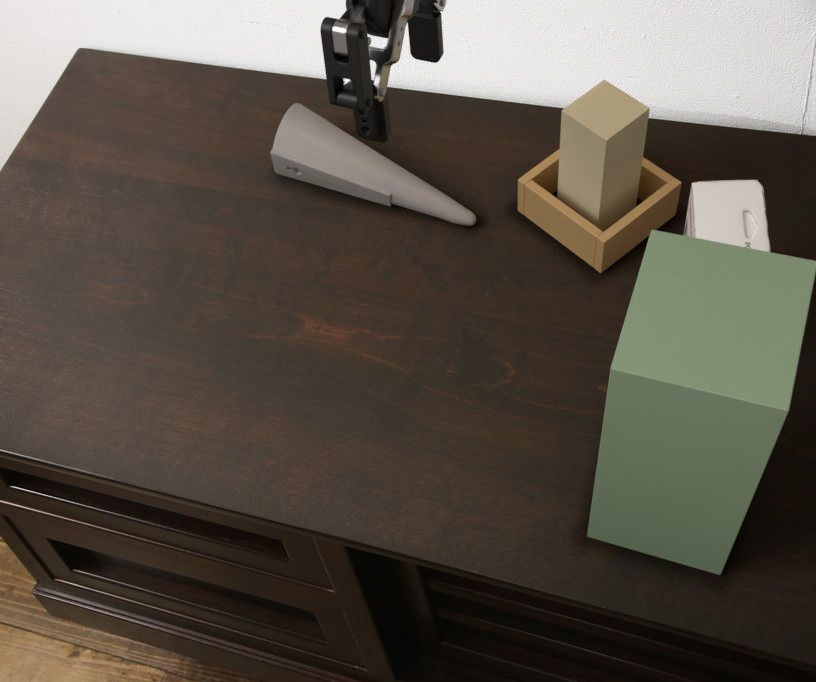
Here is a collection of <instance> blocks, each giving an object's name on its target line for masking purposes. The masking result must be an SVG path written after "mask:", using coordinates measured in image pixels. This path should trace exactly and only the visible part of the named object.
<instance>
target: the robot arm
mask: <svg viewBox="0 0 816 682" xmlns="http://www.w3.org/2000/svg"><path fill="white" fill-rule="evenodd" d="M446 5H447V0H345V11H344V13H343V14H342V15H341V16H340V18H335V17H330V16H325V17H324V18H323V19H322V21H321V24H320V39H321V48H322V55H323V63H324V64H323V65H324V71H325V77H326V86H327V95H328V100H329V104H330V105H332V106H336V107H341V108H345V109H350V110H352V111H353V118H354V124H355V131H356V134H357V137H359V138H362V139H364V140H368V141H372V142H376V143H381V144H385V143H386V142H388V140H389V139H390V137H391V136H392V134H393V132H392V130H393V129H392V122H391V114H390V104H389V95H388V92H387V90H388V84H389V80H390V79H389V78H390V73H391V68H392V66H393V65H395V64H397V63H398V62H399V61H400V59H401V54H402V50H403V44H404V38H405V33H406V32H405V31H406V27H407V31H408V41H409V53H410V55H411V57H412V58H413V59H415V60H417V61H423V62H428V63H434V64H436V63H439V62H440V60H441V59H442V57H443V56H444V37H443V19H442V12H444V10H445V8H446ZM370 36H371V37H378V38H383V39H387V42H386V45H385V46H384V47H383V48H380V47H375V46H371V44H372V38H371V37H370ZM371 61H372V62H374V63H375V72H374V77H373V79H372V70H371V69H372V68H371Z"/></svg>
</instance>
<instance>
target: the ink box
mask: <svg viewBox="0 0 816 682" xmlns="http://www.w3.org/2000/svg"><path fill="white" fill-rule="evenodd" d="M765 198H766V197H765V189H764V186H763V184H762V183H761V182H759V180H758V179H726V180H725V179H724V180H722V179H721V180H703V181H693V182H691V185H690V192H689V198H688V203H687V211H686V217H685V223H684V229H683V236H688V237H694V238H699V239H704V240H709V241H714V242H720V243H725V244H730V245H735V246H741V247H746V248H751V249H756V250H761V251H767V252H771V243H770V238H769V225H768V218H767V211H766V210H767V209H766V199H765Z"/></svg>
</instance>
